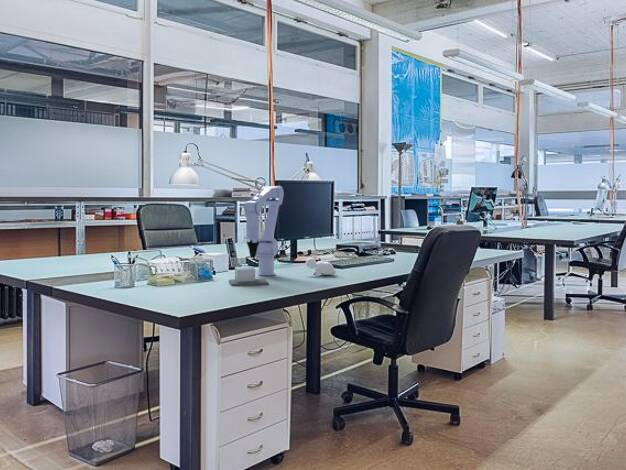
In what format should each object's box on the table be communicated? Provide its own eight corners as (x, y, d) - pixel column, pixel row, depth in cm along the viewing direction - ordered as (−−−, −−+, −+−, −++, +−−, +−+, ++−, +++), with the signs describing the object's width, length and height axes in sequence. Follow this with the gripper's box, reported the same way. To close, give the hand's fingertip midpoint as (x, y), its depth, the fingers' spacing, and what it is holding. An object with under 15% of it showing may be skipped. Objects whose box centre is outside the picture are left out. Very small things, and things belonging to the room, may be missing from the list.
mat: (228, 281, 261) (228, 279, 261) (264, 280, 265) (264, 278, 265) (231, 286, 250) (231, 283, 250) (268, 284, 253) (268, 282, 253)
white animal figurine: (329, 280, 288) (301, 269, 285) (335, 264, 288) (307, 253, 285) (332, 282, 280) (303, 271, 277) (339, 266, 280) (310, 255, 277)
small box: (234, 278, 264) (236, 282, 253) (234, 266, 263) (236, 269, 253) (252, 278, 265) (255, 281, 255) (252, 266, 265) (255, 269, 255)
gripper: (242, 226, 273) (242, 255, 274) (245, 228, 259) (245, 259, 260) (257, 226, 275) (257, 255, 276) (261, 228, 261) (261, 258, 262)
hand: (252, 257), depth 268 cm, fingers closed
